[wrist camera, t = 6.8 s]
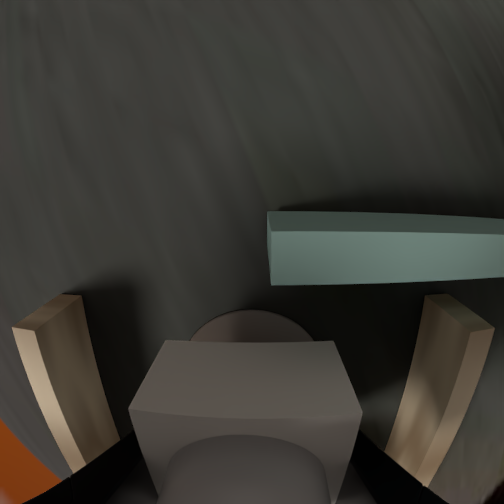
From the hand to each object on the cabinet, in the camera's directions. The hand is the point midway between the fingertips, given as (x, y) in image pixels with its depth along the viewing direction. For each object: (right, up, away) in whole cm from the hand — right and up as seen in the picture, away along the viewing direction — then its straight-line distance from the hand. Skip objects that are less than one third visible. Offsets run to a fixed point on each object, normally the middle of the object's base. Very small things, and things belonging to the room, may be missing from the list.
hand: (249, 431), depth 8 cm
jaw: (0, 0, +1) cm, 1 cm away
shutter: (+8, +6, +2) cm, 10 cm away
